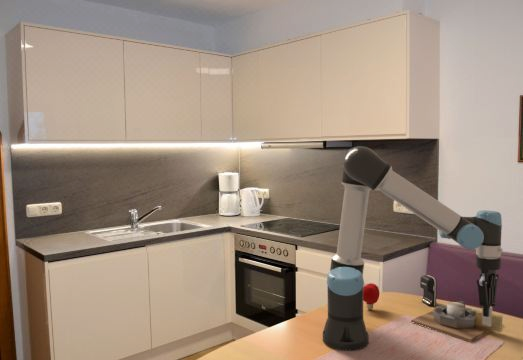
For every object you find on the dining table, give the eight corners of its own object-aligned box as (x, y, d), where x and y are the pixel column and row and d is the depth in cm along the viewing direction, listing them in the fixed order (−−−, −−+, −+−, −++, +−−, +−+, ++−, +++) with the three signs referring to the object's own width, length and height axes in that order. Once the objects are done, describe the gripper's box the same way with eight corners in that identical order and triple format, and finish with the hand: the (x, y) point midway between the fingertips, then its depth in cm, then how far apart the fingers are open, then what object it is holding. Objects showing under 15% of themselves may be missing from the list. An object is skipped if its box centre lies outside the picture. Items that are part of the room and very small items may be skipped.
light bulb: (367, 304, 185) (367, 280, 184) (383, 308, 180) (383, 283, 179) (356, 311, 177) (356, 286, 177) (372, 315, 173) (372, 289, 172)
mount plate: (470, 342, 148) (470, 321, 147) (411, 322, 165) (411, 303, 165) (501, 325, 161) (501, 305, 161) (443, 308, 179) (444, 291, 178)
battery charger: (418, 301, 187) (419, 274, 186) (427, 300, 188) (427, 273, 187) (428, 307, 180) (428, 279, 180) (437, 306, 181) (437, 278, 180)
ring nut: (428, 321, 163) (428, 307, 162) (443, 310, 173) (443, 297, 173) (495, 337, 148) (495, 322, 148) (507, 325, 158) (507, 311, 158)
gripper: (492, 261, 146) (491, 333, 147) (507, 255, 155) (505, 323, 156) (469, 257, 151) (467, 326, 153) (484, 252, 160) (483, 317, 161)
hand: (487, 324), depth 154 cm, fingers closed
